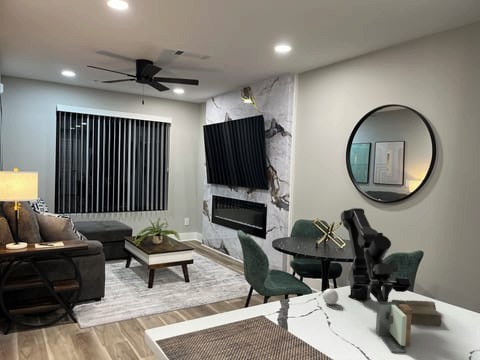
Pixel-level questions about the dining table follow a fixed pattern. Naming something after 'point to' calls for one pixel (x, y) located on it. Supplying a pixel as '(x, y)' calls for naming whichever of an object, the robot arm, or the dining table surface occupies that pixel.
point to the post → (408, 313)
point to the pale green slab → (398, 324)
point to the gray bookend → (387, 326)
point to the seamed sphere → (330, 296)
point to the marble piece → (423, 312)
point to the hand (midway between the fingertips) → (385, 308)
